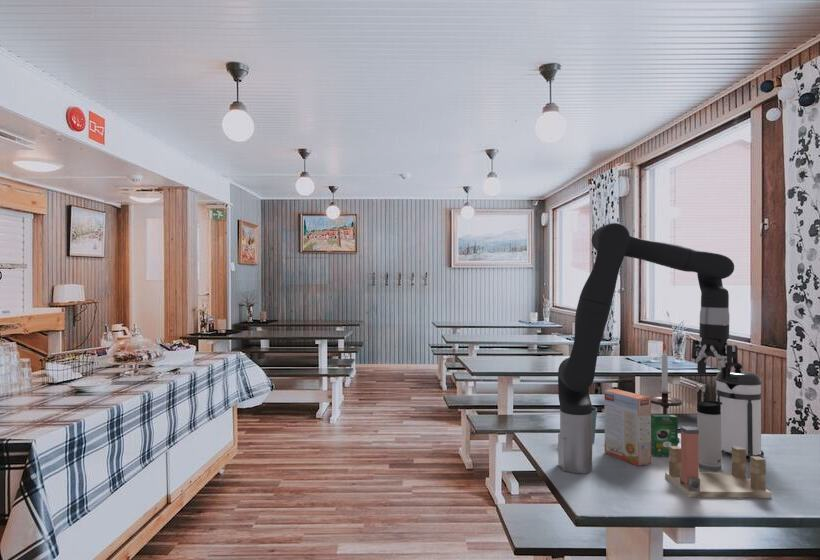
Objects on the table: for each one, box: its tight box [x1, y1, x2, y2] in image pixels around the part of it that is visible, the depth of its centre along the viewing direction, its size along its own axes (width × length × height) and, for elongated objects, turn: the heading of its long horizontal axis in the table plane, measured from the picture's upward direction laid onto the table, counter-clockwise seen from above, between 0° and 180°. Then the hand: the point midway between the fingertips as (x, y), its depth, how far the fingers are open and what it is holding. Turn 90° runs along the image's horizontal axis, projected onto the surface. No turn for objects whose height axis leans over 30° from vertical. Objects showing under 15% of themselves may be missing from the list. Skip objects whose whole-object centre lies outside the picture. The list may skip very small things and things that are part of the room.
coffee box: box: [651, 413, 679, 457], centre depth 159 cm, size 8×3×13 cm, turn 91°
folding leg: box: [680, 426, 700, 485], centre depth 131 cm, size 3×3×14 cm
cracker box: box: [604, 388, 652, 467], centre depth 157 cm, size 14×6×21 cm, turn 22°
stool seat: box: [664, 446, 772, 499], centre depth 134 cm, size 21×14×10 cm, turn 88°
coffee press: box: [714, 362, 765, 463], centre depth 160 cm, size 17×16×30 cm
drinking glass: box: [592, 405, 598, 444], centre depth 174 cm, size 10×10×12 cm
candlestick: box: [650, 341, 683, 444], centre depth 175 cm, size 11×11×35 cm
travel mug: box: [696, 400, 723, 472], centre depth 149 cm, size 6×7×20 cm
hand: (713, 377), depth 145 cm, fingers open, 8 cm apart
